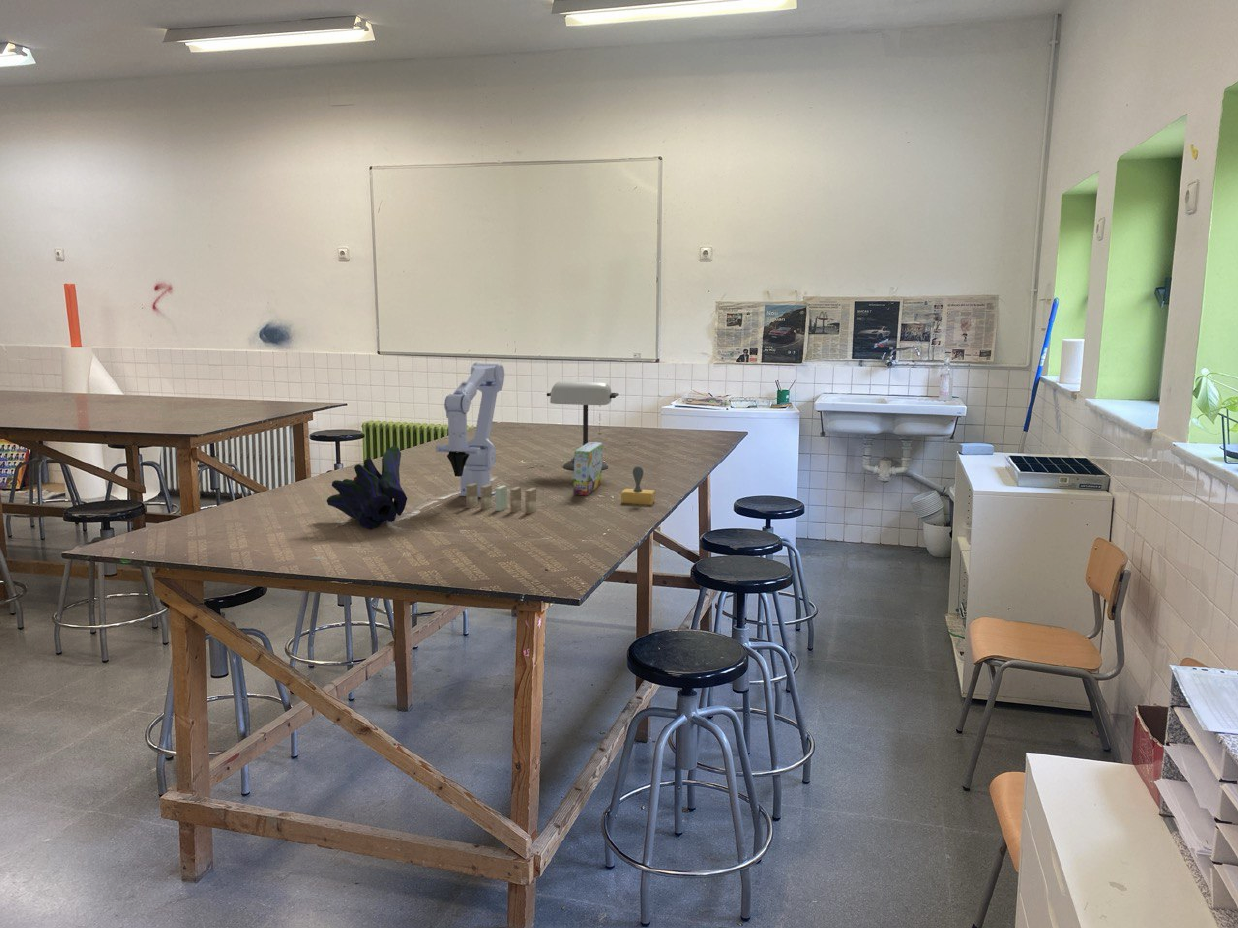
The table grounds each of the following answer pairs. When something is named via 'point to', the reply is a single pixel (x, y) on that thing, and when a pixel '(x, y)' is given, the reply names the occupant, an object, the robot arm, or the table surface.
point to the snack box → (587, 468)
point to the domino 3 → (501, 498)
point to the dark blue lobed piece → (372, 492)
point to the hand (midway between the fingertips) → (458, 476)
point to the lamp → (582, 402)
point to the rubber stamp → (637, 491)
